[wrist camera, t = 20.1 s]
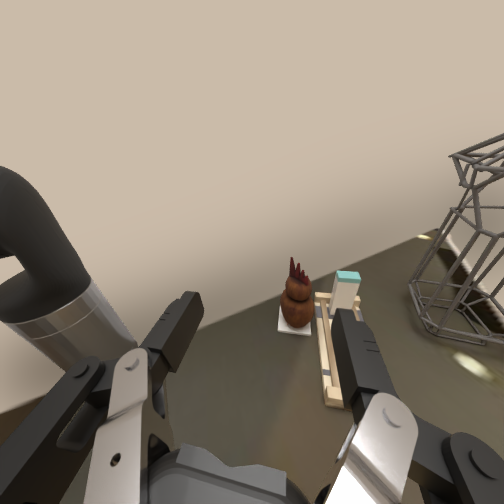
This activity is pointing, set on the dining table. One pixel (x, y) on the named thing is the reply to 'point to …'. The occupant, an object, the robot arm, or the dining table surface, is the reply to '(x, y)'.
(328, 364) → the light wooden tray
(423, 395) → the dining table surface
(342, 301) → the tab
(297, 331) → the pad
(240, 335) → the dining table surface
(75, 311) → the robot arm
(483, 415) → the dining table surface
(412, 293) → the geometric lantern
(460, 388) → the dining table surface
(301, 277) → the wooden figurine
